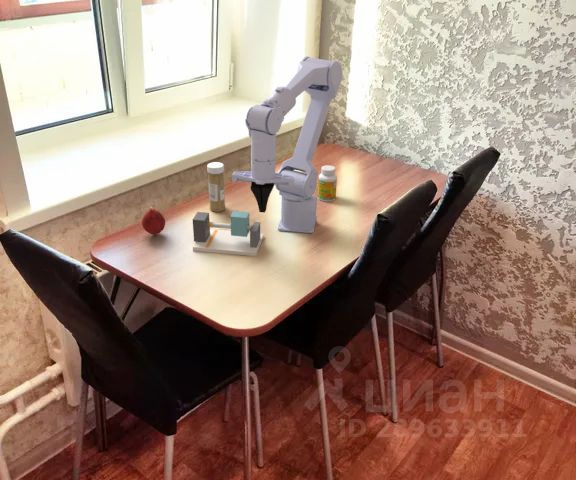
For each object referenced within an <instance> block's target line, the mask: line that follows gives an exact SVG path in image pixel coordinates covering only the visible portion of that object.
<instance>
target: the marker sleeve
mask: <svg viewBox="0 0 576 480" xmlns="http://www.w3.org/2000/svg"><path fill="white" fill-rule="evenodd" d="M230 224H231V229H230V231H231V236H241V237H247V235H248V233H249V232H250V231H248V230H247V226H250V211H240V210H233V211H232V213H231V215H230Z"/></svg>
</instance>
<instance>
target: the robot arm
mask: <svg viewBox="0 0 576 480" xmlns="http://www.w3.org/2000/svg"><path fill="white" fill-rule="evenodd" d="M343 76H344V75H343V68H342V64H341V63H340V61H338V60H328V59H322V58H316V57H315V58H314V57H311V56H305V57H303V58H302V59H301V61H299V63H298V65H297V72H296V73H295V74H294V76H293V77H292V78H291V79H290V81H289V82H288V83H287V84H286V86H277V87H276V88H275V90H274V91H272V93H271V94H270V95H268V96H267V98H266V99H265V100H264V101H262V102H261V104H255V105H253V106H251V107H250V108H249V109H248V111H247V113H246V118H245V119H244V121H245V126H246V128H247V129H248V136H249V138H250V170H249V171H248V170H247V171H246V170H244V171H235V170H234V171H233V173H232V174H231V175H232V176H231V177H232V178H231V179H232V180H231V181H232V183H237V182H244V183H251V184H250V190H251V193H252V194H253V196H254V198H255V201H256V203H257V207H258V212H259V213H266V211H267V206H268V201H269V198H270V195H271V193H272V191H273V189H274V187H275V189H276V190H277V191H278V193H279V195H280V196H281V208H280V209H281V211H280V212H281V213H280V214H281V215H280V218H281V219H280V222H279V224H278V228H277V230H278V231H283V232H293V233H295V232H296V233H304V234H305V233H306V234H313V233H314V231H315V226H316V224H317V217H318V216H317V208H318V207H317V205H318V204H317V202H318V196H315V195H314V194H315V193H316V190H317V187H318V182H317V181H318V178H319V171H318V170H317V168H316V167H315V165H314V163H313V159H314V156H315V153H316V149H317V147H318V144H319V141H320V137H321V134H322V130H323V129H324V124H325V122H326V119H327V115H328V112H329V110H330V105H331V103H332V100H333V99H335V98H337V95H338V92H339V90H340V86H341V83H342V80H343ZM303 92H305V93H307V94H308V95H309V96H310V101H309V105H308V108H307V111H306V114H305V117H304V120H303V122H302V126H301V129H300V133H299V135H298V139H297V142H296V146H295V149H294V152H293V155H292V157H289V158H288V159H286V160H284V161H283V162H282V163H281V166H280V168H279V170H278V171H277V172H276V164H277V163H276V154H277V153H276V152H277V151H276V150H277V148H276V147H277V133H278V132H279V131H280V129H281V128H282V127H281V126H282V125H283V124H282V123H283V122H284V120H285V116H286V115H287V114H288V113H290V112H291V110H292V109H293V108H294V107H295V106H296V102H297V99H296V98H298V97H299V96H300V95H301V94H302V93H303Z"/></svg>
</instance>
